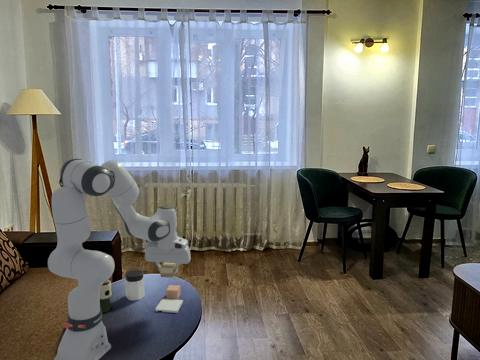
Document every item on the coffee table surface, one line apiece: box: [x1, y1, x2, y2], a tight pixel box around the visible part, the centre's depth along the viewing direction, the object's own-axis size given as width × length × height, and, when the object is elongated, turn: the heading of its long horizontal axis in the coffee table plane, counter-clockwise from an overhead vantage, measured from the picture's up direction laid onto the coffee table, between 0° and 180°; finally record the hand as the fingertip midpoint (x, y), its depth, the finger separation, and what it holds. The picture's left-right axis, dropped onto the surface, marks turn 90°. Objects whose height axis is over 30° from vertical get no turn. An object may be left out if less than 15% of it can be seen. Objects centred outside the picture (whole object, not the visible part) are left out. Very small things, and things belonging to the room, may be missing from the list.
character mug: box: [100, 279, 113, 313], centre depth 182 cm, size 11×7×13 cm, turn 170°
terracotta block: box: [165, 284, 182, 300], centre depth 196 cm, size 6×6×4 cm
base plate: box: [154, 298, 184, 314], centre depth 187 cm, size 10×10×1 cm
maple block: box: [159, 262, 177, 279], centre depth 184 cm, size 6×6×4 cm
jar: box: [124, 269, 146, 301], centre depth 195 cm, size 9×8×12 cm
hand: (168, 271), depth 184 cm, fingers closed on maple block, 5 cm apart
